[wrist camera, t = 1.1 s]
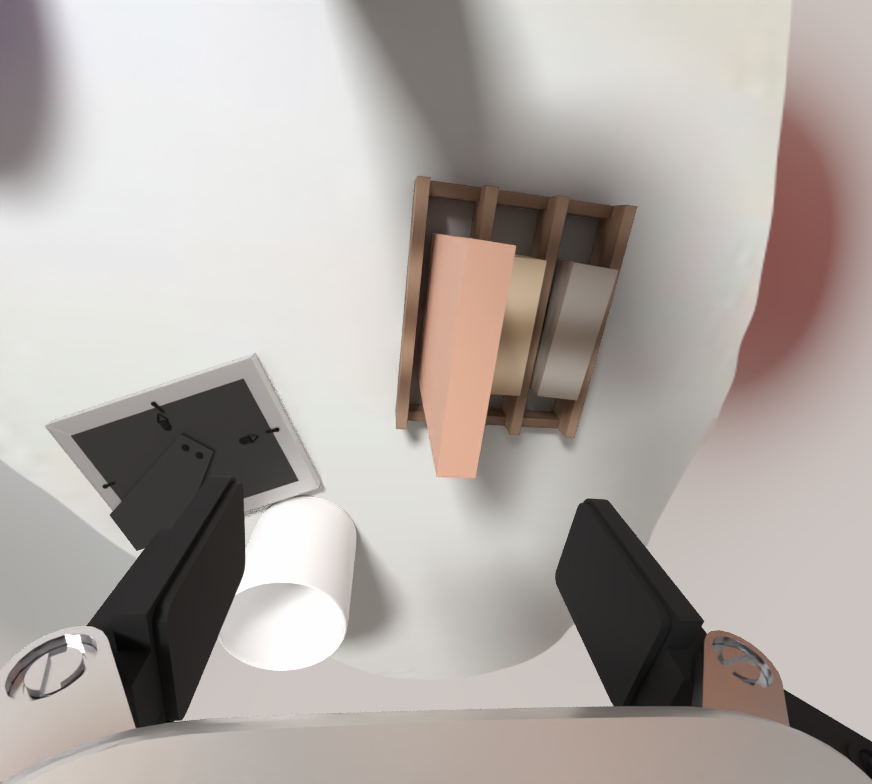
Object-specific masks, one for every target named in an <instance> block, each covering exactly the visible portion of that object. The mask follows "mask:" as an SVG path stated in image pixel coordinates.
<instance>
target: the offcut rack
mask: <svg viewBox="0 0 872 784" xmlns="http://www.w3.org/2000/svg"><path fill="white" fill-rule="evenodd" d="M429 196H434V197H442V198H449V199H457V200H464V201H472V202H475V206H474V213H473V220H472V228H471V235H470V238H472V239H478V240H484V241H491V236H492V229H493V223H494V216H495V210H496V205H502V206H509V207H517V208H524V209H532V210H539V213H538V218H537V224H536V229H535V234H534V239H533V245H532V250H531V255H530V257H533V258H537V259H541V260H546V261H547V262H546V267H545V272H544V277H543V282H542V287H541V292H540V297H539V302H538V308H537V313H536V318H535V323H534V328H533V333H532V338H531V343H530V348H529V353H528V358H527V363H526V368H525V373H524V378H523V383H522V388H521V393H520V396H513V395H504V398H503V403H502V408H501V409H492V408H488V410H487V416H486V421H485V425H504V426H505V427H506V429H507V431H508V432H509V434H510V435H519V434H520V429H521V426H523V427H541V428H558V429H559V430H560V431H561V432H562V434H563V435H564V436H565V437H569V438H575V435H576V431H577V427H578V423H579V420H580V416H581V412H582V409H583V405H584V401H585V398H586V394H587V390H588V387H589V383H590V379H591V375H592V372H593V368H594V364H595V361H596V357H597V353H598V350H599V346H600V342H601V339H602V335H603V331H604V327H605V324H606V320H607V316H608V313H609V309H610V305H611V302H612V298H613V294H614V290H615V287H616V283H617V279H618V276H619V272H620V268H621V265H622V261H623V257H624V254H625V250H626V246H627V242H628V239H629V235H630V231H631V228H632V224H633V220H634V217H635V213H636V209H637V206H630V205H620V206H610V205H603V204H596V203H589V202H581V201H574V200H569V199H570V197H565V196H553V197H545V196H538V195H531V194H524V193H516V192H509V191H502V190H499V187H494V186H484V187H482V188H480V187H473V186H466V185H459V184H452V183H444V182H437V181H430V177H422V176H417V178H416V180H415V183H414V195H413V207H412V219H411V232H410V244H409V256H408V268H407V280H406V292H405V304H404V316H403V328H402V340H401V352H400V364H399V376H398V388H397V400H396V429H407V420H410V421H426V418H425V413H424V407H423V404H409V398H410V387H411V377H412V366H413V356H414V345H415V335H416V324H417V314H418V303H419V293H420V283H421V272H422V262H423V251H424V241H425V230H426V220H427V209H428V199H429ZM566 214H569V215H577V216H584V217H592V218H599V219H600V221H599V225H598V229H597V233H596V238H595V242H594V246H593V250H592V254H591V258H590V262H589V265H594V266H599V267H604V268H609V269H614V270H618V273H617V276H616V279H615V282H614V286H613V289H612V292H611V295H610V298H609V301H608V305H607V308H606V311H605V314H604V317H603V320H602V324H601V327H600V330H599V333H598V336H597V339H596V343H595V346H594V349H593V352H592V355H591V358H590V362H589V365H588V368H587V371H586V374H585V377H584V380H583V384H582V387H581V390H580V393H579V396H578V399H577V400H569V399H560V398H557V399H556V403H555V407H554V411H553V412H542V411H525V406H526V401H527V396H528V392H529V387H530V382H531V377H532V373H533V368H534V363H535V359H536V354H537V349H538V345H539V340H540V335H541V330H542V326H543V321H544V316H545V312H546V307H547V302H548V298H549V293H550V288H551V283H552V279H553V274H554V269H555V265H556V260H557V255H558V251H559V246H560V241H561V236H562V232H563V227H564V222H565V218H566Z"/></svg>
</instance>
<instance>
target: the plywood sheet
mask: <svg viewBox="0 0 872 784" xmlns="http://www.w3.org/2000/svg"><path fill="white" fill-rule="evenodd" d="M515 250H516V246H515V245H509V244H503V243H497V242H491V241H484V240H478V239H472V238H466V237H460V236H452V235H444V234H435V233H432V243H431V253H430V263H429V272H428V282H427V292H426V302H425V312H424V321H423V331H422V341H421V351H420V361H419V371H418V381H419V386H420V392H421V397H422V402H423V407H424V413H425V418H426V423H427V428H428V434H429V439H430V444H431V449H432V455H433V460H434V465H435V471H436V476H437V477H454V478H476V473H477V467H478V461H479V456H480V450H481V444H482V439H483V433H484V427H485V421H486V416H487V410H488V404H489V399H490V393H491V387H492V382H493V376H494V370H495V364H496V359H497V353H498V347H499V342H500V336H501V330H502V325H503V319H504V313H505V307H506V302H507V296H508V290H509V285H510V279H511V273H512V267H513V262H514V256H515Z"/></svg>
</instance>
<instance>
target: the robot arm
mask: <svg viewBox="0 0 872 784" xmlns="http://www.w3.org/2000/svg"><path fill="white" fill-rule="evenodd" d="M245 562H246V560H245V525H244V491H243V484H242V483H236V478H235V477H232V476H215V475H211V476H209V477H208V478H207V480H206V481H205V482H204V484H203V485H202V487H201V488H200V489H199V491H198V492H197V494H196V495H195V496H194V498H193V499H192V501H191V502H190V503H189V505H188V506H187V508H186V509H185V510H184V512H183V513H182V515H181V516H180V517H179V519H178V520H177V522H176V523H175V524H174V526H173V527H164V528H162V529H160V530H159V531H158V532H157V533H156V534H155V536H154V537H153V538H152V540H151V541H150V542H149V544H148V545H147V546H146V548H145V549H144V550H143V552H142V553H141V554H140V556H139V557H138V558H137V560H136V561H135V562H134V564H133V565H132V566H131V568H130V569H129V570H128V572H127V573H126V574H125V576H124V577H123V578H122V580H121V581H120V582H119V583H118V585H117V586H116V587H115V589H114V590H113V591H112V593H111V594H110V595H109V597H108V598H107V599H106V601H105V602H104V604H103V605H102V606H101V607H100V609H99V610H98V611H97V613H96V614H95V615H94V617H93V618H92V619H91V621H90V622H89V623H88V625H87V626H76V627H69V628H64V629H61V630H58V631H56V632H53V633H50V634H47V635H45V636H44V637H41V638H39V639H38V640H36V641H34V642H32V643H30V644H29V645H27V646H26V647H25V648H23V649H22V650H21V651H19V652H18V653H17V654H15V655H14V656H13V657H12V658H11V659H10V660H9V661H8V662H7V663H6V664H5V665H4V666H3V667H2V668H1V670H0V784H872V742H871V741H870V740H868V739H866V738H865V737H863V736H861V735H860V734H858V733H856V732H854V731H853V730H851V729H850V728H848V727H846V726H844V725H843V724H841V723H839V722H838V721H836V720H834V719H833V718H831V717H829V716H828V715H826V714H824V713H823V712H821V711H819V710H818V709H816V708H814V707H812V706H811V705H809V704H807V703H806V702H804V701H802V700H801V699H799V698H797V697H796V696H794V695H792V694H791V693H789V692H787V691H786V690H784V689H783V685H782V680H781V678H780V675H779V673H778V671H777V670H776V668H775V667H774V665H773V664H772V662H771V661H770V660H769V659H768V658H767V657H766V656H765V655H764V654H763V653H762V652H761V651H759V650H758V649H757V648H756V647H754V646H753V645H752V644H751V643H749V642H747V641H745V640H744V639H742V638H741V637H738V636H736V635H734V634H731V633H729V632H724V631H711V632H709V633H708V634H707V633H706V632H705V631H704V629H703V628H702V627H701V626H702V624H703V622H704V620H703V619H702V618H701V616H700V615H699V614H698V613H697V611H696V610H695V609H694V608H693V607H692V605H691V604H690V603H689V601H688V600H687V599H686V598H685V596H684V595H683V594H682V593H681V591H680V590H679V589H678V587H677V586H676V585H675V584H674V583H673V581H672V580H671V579H670V577H669V576H668V575H667V574H666V572H665V571H664V570H663V569H662V568H661V566H660V565H659V564H658V562H657V561H656V560H655V559H654V557H653V556H652V555H651V554H650V552H649V551H648V550H647V549H646V547H645V546H644V545H643V544H642V542H641V541H640V540H639V539H638V537H637V536H636V535H635V533H634V532H633V531H632V530H631V528H630V527H629V526H628V525H627V523H626V522H625V521H624V520H623V518H622V517H621V516H620V515H619V513H618V512H617V511H616V510H615V508H614V507H613V506H612V505H611V503H610V502H609V501H608V500H604V499H586V500H585V501H584V502H583V503H581V504H579V506H578V508H577V511H576V514H575V517H574V520H573V522H572V525H571V528H570V531H569V534H568V537H567V540H566V543H565V546H564V549H563V552H562V555H561V558H560V561H559V564H558V567H557V570H556V574H555V579H556V584H557V587H558V589H559V591H560V593H561V595H562V597H563V600H564V602H565V604H566V606H567V608H568V610H569V612H570V615H571V617H572V619H573V621H574V623H575V625H576V627H577V630H578V632H579V634H580V636H581V638H582V640H583V642H584V645H585V647H586V649H587V651H588V653H589V655H590V657H591V660H592V662H593V664H594V666H595V668H596V670H597V673H598V675H599V677H600V679H601V681H602V683H603V685H604V687H605V690H606V692H607V694H608V696H609V698H610V700H611V702H612V703H613V705H614V706H613V707H559V708H558V707H557V708H512V709H510V708H509V709H468V710H431V711H430V710H429V711H395V712H394V711H392V712H363V713H362V712H361V713H329V714H328V713H327V714H295V715H273V716H253V717H233V718H212V719H201V720H191V721H181V722H174V721H176V720H177V721H178V720H182V719H183V718H184V716H185V714H186V712H187V710H188V708H189V705H190V703H191V700H192V698H193V696H194V693H195V691H196V688H197V686H198V683H199V681H200V679H201V676H202V674H203V671H204V669H205V666H206V664H207V662H208V659H209V657H210V655H211V652H212V650H213V647H214V645H215V643H216V640H217V638H218V635H219V633H220V631H221V628H222V626H223V623H224V621H225V618H226V616H227V614H228V611H229V609H230V606H231V604H232V602H233V599H234V597H235V594H236V592H237V590H238V587H239V585H240V582H241V580H242V577H243V574H244V570H245Z"/></svg>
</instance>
